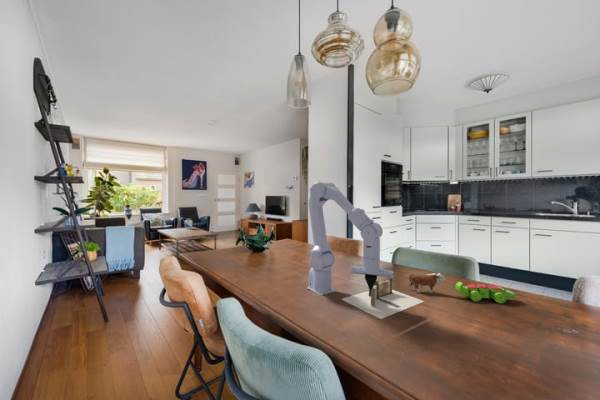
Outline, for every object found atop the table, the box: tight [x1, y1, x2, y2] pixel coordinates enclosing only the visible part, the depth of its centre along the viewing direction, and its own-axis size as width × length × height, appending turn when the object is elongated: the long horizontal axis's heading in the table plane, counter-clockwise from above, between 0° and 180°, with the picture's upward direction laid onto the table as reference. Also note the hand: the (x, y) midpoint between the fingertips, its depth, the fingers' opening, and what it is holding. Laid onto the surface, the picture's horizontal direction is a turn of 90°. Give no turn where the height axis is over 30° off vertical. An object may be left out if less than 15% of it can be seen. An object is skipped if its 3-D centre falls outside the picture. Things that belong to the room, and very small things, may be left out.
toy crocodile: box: [454, 281, 517, 304], centre depth 94 cm, size 20×7×6 cm, turn 79°
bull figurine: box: [408, 272, 447, 294], centre depth 101 cm, size 4×13×8 cm, turn 78°
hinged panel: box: [371, 285, 377, 306], centre depth 90 cm, size 8×1×6 cm, turn 157°
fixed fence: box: [374, 277, 393, 298], centre depth 97 cm, size 10×2×6 cm, turn 123°
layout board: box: [341, 289, 425, 320], centre depth 92 cm, size 18×24×1 cm
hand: (370, 295), depth 90 cm, fingers closed, pressing on hinged panel
